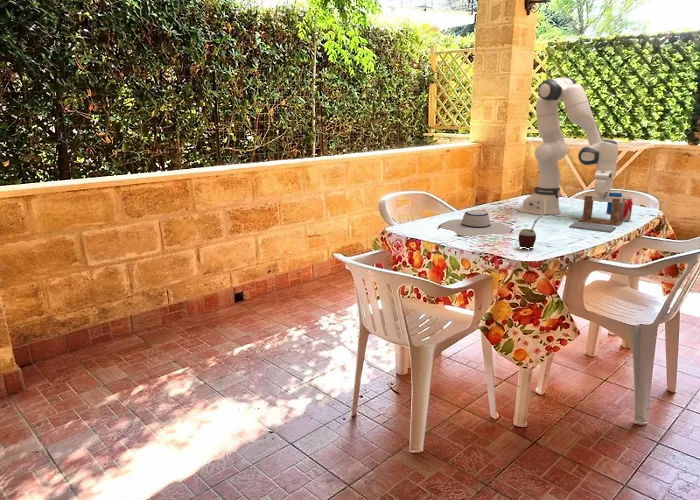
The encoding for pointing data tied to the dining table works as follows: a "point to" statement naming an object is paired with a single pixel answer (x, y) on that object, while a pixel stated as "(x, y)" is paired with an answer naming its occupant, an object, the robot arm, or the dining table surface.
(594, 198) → the rail
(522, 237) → the mate gourd
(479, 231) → the sun hat
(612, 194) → the beverage can
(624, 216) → the soda can
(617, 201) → the rack
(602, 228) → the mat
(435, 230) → the dining table surface
